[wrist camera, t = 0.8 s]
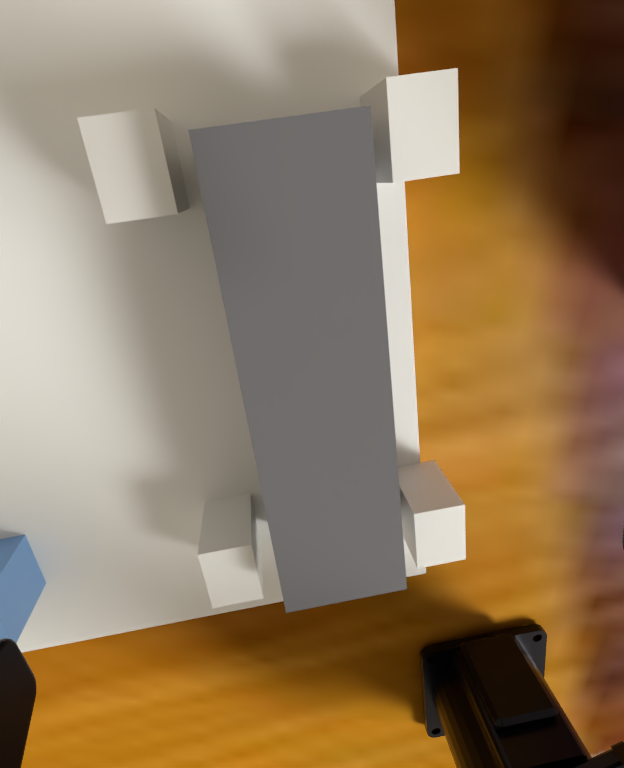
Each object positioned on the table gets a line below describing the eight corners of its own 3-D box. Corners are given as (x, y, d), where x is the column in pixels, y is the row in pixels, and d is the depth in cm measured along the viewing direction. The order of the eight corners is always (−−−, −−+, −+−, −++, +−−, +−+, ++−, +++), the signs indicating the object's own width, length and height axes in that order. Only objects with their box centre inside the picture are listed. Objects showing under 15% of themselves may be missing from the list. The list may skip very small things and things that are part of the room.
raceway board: (430, 552, 23) (466, 625, 20) (-135, 661, 22) (-218, 765, 18) (400, -32, 15) (454, -106, 11) (-526, 77, 13) (-841, 34, 9)
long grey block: (374, 507, 21) (407, 589, 16) (277, 525, 20) (285, 613, 16) (336, 126, 15) (370, 105, 11) (204, 144, 15) (188, 130, 11)
